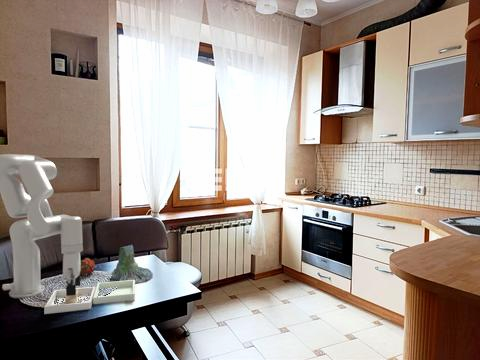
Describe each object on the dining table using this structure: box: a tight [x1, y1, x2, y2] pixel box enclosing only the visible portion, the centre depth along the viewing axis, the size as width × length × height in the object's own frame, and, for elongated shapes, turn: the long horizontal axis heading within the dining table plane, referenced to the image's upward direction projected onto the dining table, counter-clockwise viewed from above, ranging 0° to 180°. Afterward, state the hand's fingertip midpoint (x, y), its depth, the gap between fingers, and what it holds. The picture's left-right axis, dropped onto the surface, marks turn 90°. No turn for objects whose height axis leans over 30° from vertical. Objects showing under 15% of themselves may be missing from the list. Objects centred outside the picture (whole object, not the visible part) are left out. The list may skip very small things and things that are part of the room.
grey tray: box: [43, 286, 97, 315], centre depth 127 cm, size 16×16×3 cm
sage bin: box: [92, 280, 136, 305], centre depth 135 cm, size 16×16×3 cm
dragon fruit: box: [80, 257, 96, 276], centre depth 159 cm, size 8×8×12 cm
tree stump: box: [110, 244, 154, 285], centre depth 156 cm, size 18×20×18 cm
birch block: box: [65, 290, 78, 304], centre depth 127 cm, size 4×4×4 cm
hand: (73, 290), depth 126 cm, fingers open, 9 cm apart
